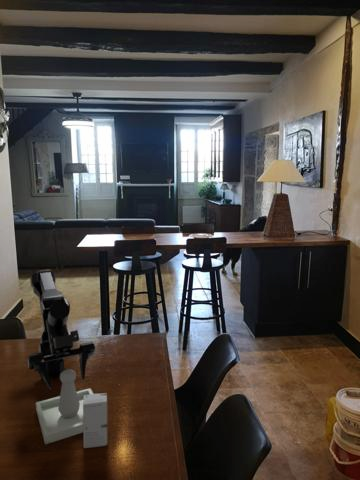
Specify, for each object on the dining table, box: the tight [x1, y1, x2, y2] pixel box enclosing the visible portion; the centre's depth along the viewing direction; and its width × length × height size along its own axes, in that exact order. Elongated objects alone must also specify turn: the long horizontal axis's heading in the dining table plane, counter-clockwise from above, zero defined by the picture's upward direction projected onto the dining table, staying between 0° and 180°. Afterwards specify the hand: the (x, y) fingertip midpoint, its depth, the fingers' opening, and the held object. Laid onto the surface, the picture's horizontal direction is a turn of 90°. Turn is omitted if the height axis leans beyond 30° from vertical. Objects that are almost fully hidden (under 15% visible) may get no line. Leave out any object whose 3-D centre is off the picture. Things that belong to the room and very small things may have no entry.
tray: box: [35, 387, 94, 445], centre depth 104 cm, size 16×16×2 cm
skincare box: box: [82, 392, 108, 449], centre depth 94 cm, size 6×4×12 cm
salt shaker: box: [58, 368, 80, 419], centre depth 103 cm, size 6×6×13 cm
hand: (67, 384), depth 104 cm, fingers open, 9 cm apart
